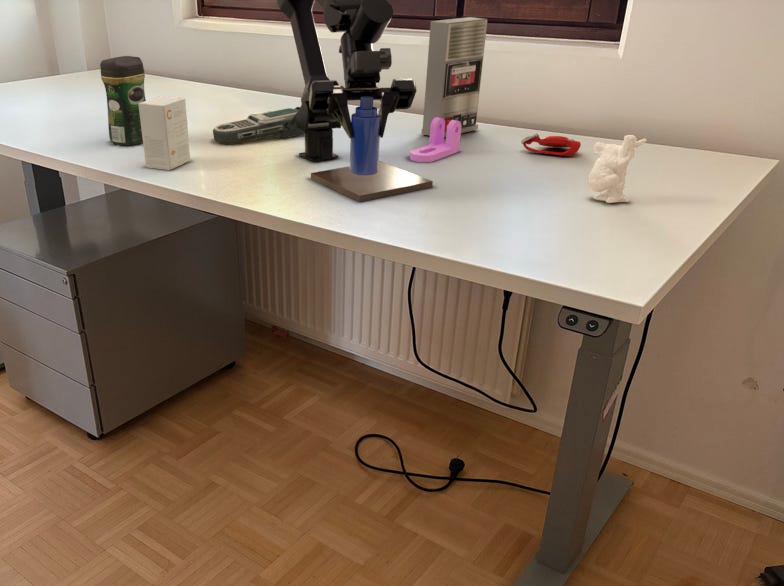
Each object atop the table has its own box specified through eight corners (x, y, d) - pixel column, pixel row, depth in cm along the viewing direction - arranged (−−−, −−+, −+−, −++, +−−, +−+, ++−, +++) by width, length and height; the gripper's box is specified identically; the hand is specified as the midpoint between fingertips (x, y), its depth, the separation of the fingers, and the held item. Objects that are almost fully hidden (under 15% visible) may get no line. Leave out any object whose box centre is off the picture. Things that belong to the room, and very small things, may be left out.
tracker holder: (556, 139, 170) (591, 137, 161) (553, 159, 171) (588, 158, 162) (517, 132, 164) (551, 130, 155) (514, 153, 165) (548, 152, 156)
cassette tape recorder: (440, 139, 175) (450, 23, 162) (421, 134, 179) (429, 21, 166) (478, 130, 182) (491, 19, 170) (459, 126, 186) (470, 17, 174)
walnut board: (310, 179, 147) (310, 173, 147) (379, 166, 155) (380, 160, 154) (359, 202, 135) (359, 195, 134) (432, 187, 142) (432, 181, 142)
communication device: (204, 137, 178) (201, 99, 173) (293, 125, 187) (292, 89, 183) (223, 148, 168) (220, 108, 164) (316, 135, 178) (315, 97, 173)
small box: (166, 157, 161) (160, 95, 155) (191, 161, 159) (186, 97, 153) (144, 167, 155) (137, 102, 148) (170, 170, 153) (164, 105, 146)
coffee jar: (134, 134, 180) (125, 52, 170) (157, 139, 175) (149, 55, 166) (103, 143, 173) (91, 57, 163) (127, 148, 169) (116, 61, 159)
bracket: (437, 147, 168) (440, 115, 165) (458, 151, 165) (462, 119, 162) (404, 159, 160) (406, 126, 156) (426, 163, 157) (429, 130, 153)
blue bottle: (344, 169, 137) (346, 96, 130) (367, 165, 139) (370, 93, 132) (360, 177, 133) (363, 101, 126) (383, 172, 135) (387, 98, 129)
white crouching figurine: (638, 200, 135) (653, 133, 129) (623, 210, 131) (639, 140, 125) (592, 191, 140) (605, 126, 134) (577, 200, 135) (590, 133, 129)
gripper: (311, 31, 127) (318, 112, 123) (418, 29, 128) (428, 109, 125) (306, 72, 137) (312, 147, 134) (405, 70, 139) (414, 144, 135)
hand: (366, 136), depth 131 cm, fingers closed on blue bottle, 5 cm apart
